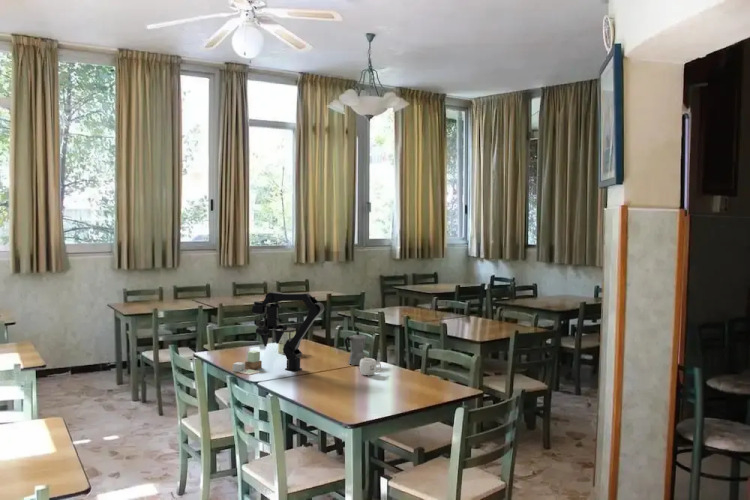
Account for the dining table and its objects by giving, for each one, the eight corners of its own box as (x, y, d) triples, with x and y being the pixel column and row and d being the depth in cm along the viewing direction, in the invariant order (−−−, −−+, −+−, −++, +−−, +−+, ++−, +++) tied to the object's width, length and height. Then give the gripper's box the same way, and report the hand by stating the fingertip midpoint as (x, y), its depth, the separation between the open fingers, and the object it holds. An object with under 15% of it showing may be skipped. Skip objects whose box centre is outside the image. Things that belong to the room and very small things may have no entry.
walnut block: (261, 368, 338) (261, 360, 337) (254, 370, 332) (254, 362, 332) (252, 366, 340) (252, 359, 340) (245, 369, 335) (245, 361, 335)
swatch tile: (259, 372, 328) (259, 371, 328) (249, 374, 322) (249, 373, 322) (249, 370, 332) (249, 369, 332) (239, 372, 326) (239, 371, 326)
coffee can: (280, 350, 383) (280, 326, 382) (297, 351, 382) (297, 327, 381) (275, 354, 373) (276, 329, 372) (293, 354, 372) (293, 330, 371)
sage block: (259, 361, 337) (259, 351, 336) (253, 362, 333) (253, 353, 333) (253, 359, 339) (253, 350, 339) (247, 361, 335) (247, 351, 335)
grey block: (245, 370, 331) (245, 363, 331) (240, 372, 327) (240, 364, 327) (237, 369, 333) (237, 362, 332) (232, 371, 328) (232, 363, 328)
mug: (363, 377, 324) (364, 362, 324) (356, 373, 331) (356, 358, 331) (384, 375, 330) (385, 360, 329) (377, 371, 337) (377, 356, 337)
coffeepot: (361, 361, 361) (362, 329, 360) (371, 364, 354) (372, 331, 353) (338, 364, 351) (339, 331, 350) (349, 367, 344) (350, 334, 343)
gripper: (272, 312, 350) (271, 340, 351) (248, 315, 334) (247, 345, 335) (288, 314, 344) (287, 343, 345) (264, 318, 328) (263, 348, 329)
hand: (271, 344), depth 338 cm, fingers open, 9 cm apart
